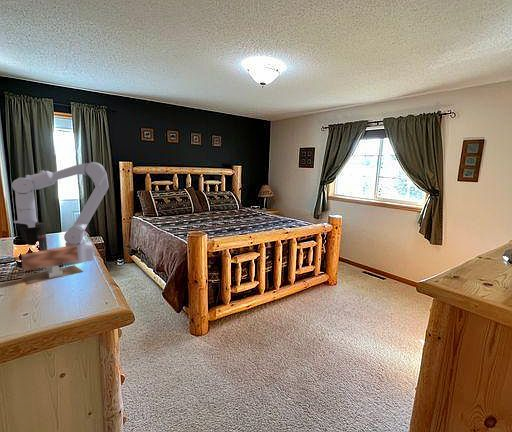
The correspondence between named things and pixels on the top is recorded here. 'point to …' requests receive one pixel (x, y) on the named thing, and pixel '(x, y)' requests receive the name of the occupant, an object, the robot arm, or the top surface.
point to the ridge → (52, 271)
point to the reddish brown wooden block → (49, 257)
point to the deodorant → (41, 236)
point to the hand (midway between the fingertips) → (29, 243)
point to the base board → (42, 277)
